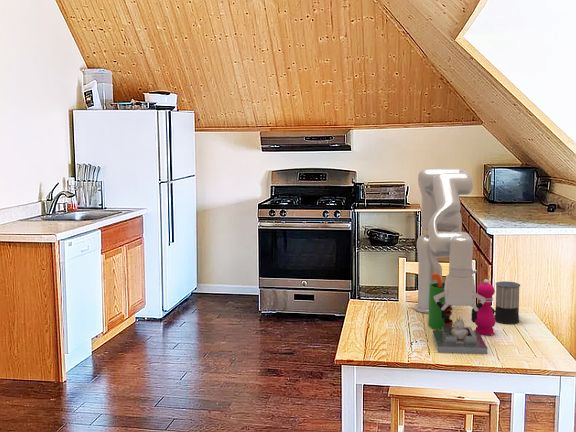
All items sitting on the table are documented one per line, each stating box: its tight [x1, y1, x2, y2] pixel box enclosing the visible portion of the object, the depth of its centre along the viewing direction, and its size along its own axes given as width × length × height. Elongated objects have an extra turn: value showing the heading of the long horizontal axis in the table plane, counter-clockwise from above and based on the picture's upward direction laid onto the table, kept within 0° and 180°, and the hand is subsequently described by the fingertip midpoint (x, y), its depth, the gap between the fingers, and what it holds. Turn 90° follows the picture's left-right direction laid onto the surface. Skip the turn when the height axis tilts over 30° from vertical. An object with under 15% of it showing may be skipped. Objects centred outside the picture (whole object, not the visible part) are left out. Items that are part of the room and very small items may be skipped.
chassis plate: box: [432, 325, 488, 355], centre depth 217 cm, size 18×16×4 cm
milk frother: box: [477, 280, 521, 325], centre depth 247 cm, size 14×16×15 cm
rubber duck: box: [451, 316, 468, 340], centre depth 217 cm, size 5×7×8 cm
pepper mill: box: [474, 278, 496, 337], centre depth 229 cm, size 7×7×20 cm
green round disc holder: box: [427, 273, 454, 330], centre depth 238 cm, size 10×9×20 cm
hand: (458, 320), depth 217 cm, fingers open, 9 cm apart
